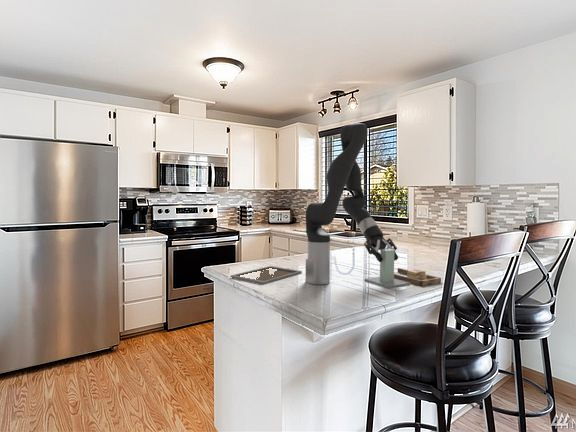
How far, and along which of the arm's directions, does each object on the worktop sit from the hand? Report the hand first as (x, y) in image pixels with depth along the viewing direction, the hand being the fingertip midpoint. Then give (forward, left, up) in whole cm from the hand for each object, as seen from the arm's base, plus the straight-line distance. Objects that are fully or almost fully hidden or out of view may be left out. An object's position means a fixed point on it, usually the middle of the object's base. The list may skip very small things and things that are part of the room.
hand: (389, 260), depth 147 cm
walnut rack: (+14, +2, -10) cm, 17 cm away
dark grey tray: (-37, +37, -10) cm, 53 cm away
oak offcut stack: (+14, -3, -10) cm, 17 cm away
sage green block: (0, +1, -9) cm, 9 cm away
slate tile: (0, +1, -10) cm, 10 cm away
